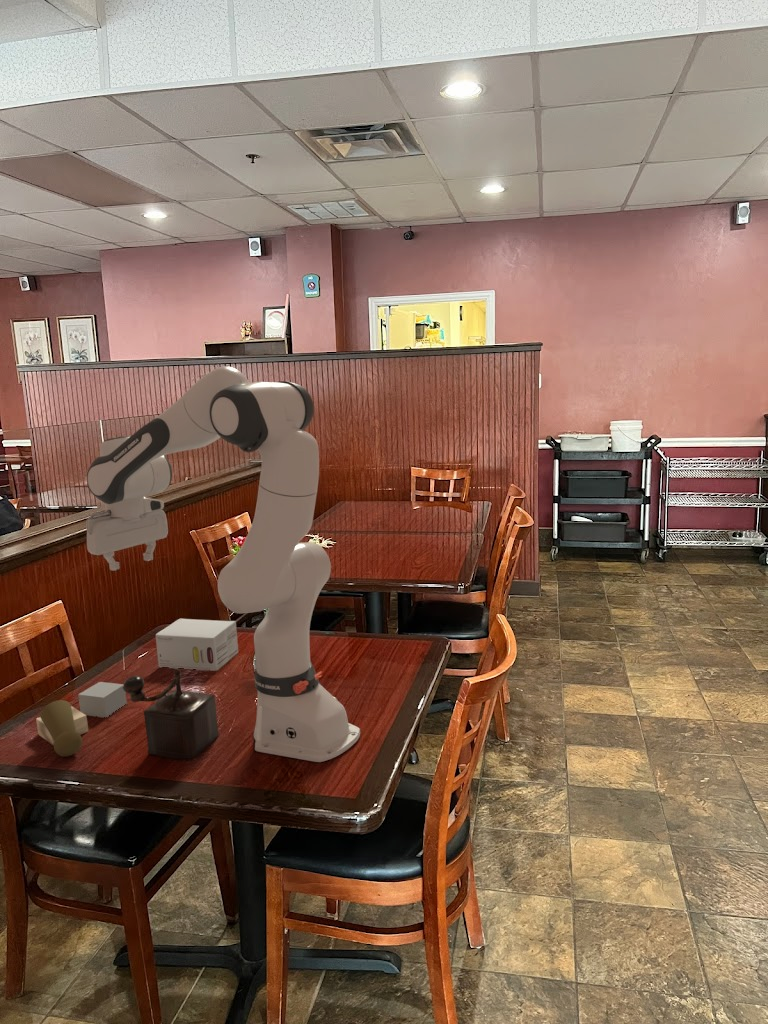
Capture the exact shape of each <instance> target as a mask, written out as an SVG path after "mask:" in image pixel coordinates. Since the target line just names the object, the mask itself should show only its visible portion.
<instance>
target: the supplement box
mask: <svg viewBox="0 0 768 1024" xmlns="http://www.w3.org/2000/svg"><path fill="white" fill-rule="evenodd" d="M237 632H238V631H237V621H236V620H217V619H216V620H215V619H214V620H212V619H195V618H194V619H192V618H179V619H176V620H175V621H174V622H172V623H171V624H169V625H167V626H166V627H164V629H163V628H162V630H160V631H158V632H157V633H156V634H155V643H156V644H155V645H156V651H157V652H156V654H157V662H158V668H162V667H169V668H168V669H177V668H184V669H183V670H193V669H196V670H195V671H209V670H210V671H213V672H217V671H218V670H220V669H222V667H223V666H224V665H226V664H227V663H228V662H229V661H230V660H231V659H232V658H234V657H235V656H236V655H237V654H238V653H239V645H238V642H239V641H238V633H237Z"/></svg>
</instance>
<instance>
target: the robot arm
mask: <svg viewBox="0 0 768 1024" xmlns="http://www.w3.org/2000/svg"><path fill="white" fill-rule="evenodd" d="M314 410H315V407H314V401H313V398H312V396H311V394H310V393H309V391H308V390H307V389H306V388H305V387H303V385H300V384H297V383H295V382H290V381H284V380H283V381H274V382H273V381H255V382H254V381H252V382H250V381H249V379H248V378H247V376H246V375H245V374H243V372H241V371H240V370H239V369H236V368H235V367H231V366H228V365H227V366H226V365H224V366H219V367H216V368H214V369H212V370H211V371H209V372H207V373H206V374H205V375H203V376H201V378H200V379H198V380H197V381H196V382H195V383H194V384H193V385H191V387H190V388H188V390H187V391H185V393H184V394H182V396H181V397H180V398H179V399H177V400H176V401H175V402H174V403H173V404H172V405H171V406H169V407H168V408H167V409H165V410H164V411H163V412H162V413H160V414H159V415H157V416H156V417H155V418H153V419H152V420H150V421H149V422H148V423H146V424H145V425H143V426H142V427H140V428H139V429H138V430H136V431H135V432H134V433H133V434H132V435H124V436H123V435H122V436H117V437H110V438H108V439H105V440H104V441H102V442H101V443H100V449H99V456H98V457H96V458H95V459H93V461H92V463H90V465H89V468H88V469H87V473H86V485H87V488H88V489H89V491H90V493H91V495H93V496H94V497H95V498H96V499H98V500H100V501H101V502H102V503H104V511H100V512H95V513H91V514H90V515H89V517H88V518H87V519H86V521H85V524H86V525H85V526H86V550H87V551H88V553H90V555H94V556H102V555H103V558H104V559H105V560H106V561H107V563H108V566H109V570H110V571H112V572H113V571H117V570H120V568H121V567H120V561H116V560H115V558H114V557H115V552H117V551H120V550H125V549H128V548H132V547H136V546H139V545H143V544H145V546H146V550H145V552H143V553H142V556H143V561H146V562H149V561H153V560H154V552H155V548H156V547H157V542H156V541H159V540H161V539H165V538H167V536H168V534H169V526H168V519H167V515H166V512H165V511H164V508H165V504H164V501H163V500H161V499H156V498H150V497H147V496H151V495H156V494H161V493H162V492H164V491H166V490H168V489H169V487H170V485H171V483H172V480H173V469H172V465H171V462H170V460H169V458H168V457H166V456H167V455H171V454H175V453H179V452H185V451H190V450H197V449H201V448H204V447H207V446H209V445H211V444H212V443H214V442H215V441H218V440H219V439H220V438H221V439H222V440H224V441H225V442H227V443H229V444H232V445H235V446H237V447H238V448H240V450H242V451H243V452H244V453H248V454H249V453H250V454H251V453H253V452H255V451H257V452H258V453H259V455H260V459H261V468H260V476H259V482H258V483H259V484H258V491H257V498H256V506H255V510H254V517H253V519H252V520H253V521H252V523H251V526H250V529H249V531H248V533H247V535H246V537H245V539H244V541H243V543H242V544H241V547H240V548H239V550H238V551H237V553H236V555H234V557H233V558H232V559H231V560H230V561H229V562H228V563H227V564H226V565H225V566H224V567H223V568H222V569H221V570H220V572H219V575H218V577H217V578H218V579H217V591H218V595H219V599H220V600H221V602H222V604H223V605H224V606H225V607H226V608H227V609H228V610H230V611H231V612H233V613H235V614H249V613H257V612H262V611H265V610H267V611H266V614H265V616H264V618H263V619H262V620H261V621H260V623H259V625H258V626H257V628H256V629H255V632H254V634H253V644H254V656H255V669H254V680H253V681H254V684H255V686H254V687H255V689H256V690H257V701H256V702H257V704H256V721H255V727H254V732H253V739H254V741H255V742H254V750H255V751H256V752H258V753H264V754H270V755H275V756H280V757H281V756H282V757H286V758H291V759H292V758H293V759H298V760H304V761H309V762H314V763H322V762H325V761H328V760H332V759H334V758H336V757H338V756H340V755H341V754H343V753H344V752H346V751H348V750H349V749H350V748H351V747H352V746H354V744H356V743H357V742H358V740H359V739H360V736H361V729H360V728H359V727H358V726H356V725H354V724H352V723H349V720H348V719H349V718H348V715H347V711H346V708H345V706H344V705H343V704H342V703H341V702H340V701H339V700H338V699H337V697H335V696H333V695H332V694H331V693H330V692H329V691H328V690H326V688H325V687H324V686H323V685H321V683H320V680H319V679H321V678H322V677H323V675H321V674H322V673H323V671H319V672H316V669H315V667H314V665H313V663H312V662H311V650H310V649H311V648H310V645H311V644H310V628H311V621H312V616H313V611H314V609H315V605H316V602H317V599H318V597H319V595H320V593H321V590H322V589H323V587H324V586H325V584H327V582H328V581H329V579H330V577H331V572H332V570H331V569H332V565H331V560H330V557H329V555H328V553H327V551H326V550H325V549H324V548H323V547H322V546H321V545H320V544H318V543H316V542H300V541H301V540H303V539H304V537H306V536H307V534H308V533H309V532H310V530H311V528H312V525H313V521H314V516H315V515H314V514H315V507H316V501H317V494H318V486H319V478H320V477H319V476H320V451H319V444H318V441H317V440H316V438H315V437H314V436H313V435H312V434H311V433H309V432H308V431H305V429H306V428H307V427H308V426H310V424H311V422H312V420H313V417H314V412H315V411H314Z"/></svg>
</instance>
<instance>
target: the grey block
mask: <svg viewBox="0 0 768 1024" xmlns="http://www.w3.org/2000/svg"><path fill="white" fill-rule="evenodd" d="M123 686H124V683H123V684H121V683H115V682H114V683H113V682H104V681H98V682H97V683H95V684H93V685H92V686H90V687H88V688H87V689H85V690H83V691H82V692H80V693H78V695H77V696H78V697H77V698H78V702H79V703H78V705H79V709H80V710H79V711H80V712H82V713H83V714H85V715H86V716H91V717H96V716H97V718H104V717H105V718H106V717H107V718H108V717H110V716H112V715H113V714H114V713H116V712H117V711H119V710H120V709H121V707H122V706H123V707H125V706H126V705H128V704H127V703H128V701H127V695H126V693H127V692H125V691H124V690H123ZM125 704H126V705H125ZM124 705H125V706H124ZM123 707H122V708H123ZM119 708H120V709H119ZM118 709H119V710H118ZM116 710H117V711H116ZM115 711H116V712H115ZM113 712H114V713H113ZM112 713H113V714H112ZM109 715H110V716H109ZM105 718H104V719H105ZM107 718H106V719H107Z"/></svg>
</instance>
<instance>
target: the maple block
mask: <svg viewBox="0 0 768 1024" xmlns="http://www.w3.org/2000/svg"><path fill="white" fill-rule="evenodd" d="M71 708H72V714H73V719H74V724H75V729H76V732H78V733H79V734H80V736H81V735H83V734H86V733H87V732H89V725H88V724H89V723H88V718H87V716H88V715H85V714H83V713H82V712H80V710H79V709H77V708H76V707H74V706H72V705H71ZM35 720H36V728H37V734H38V736H40V737H41V738H42V739H44V740H45V741H47V742H48V743H49V744H51V745H52V746H54V742H55V741H54V739H53V738H52V736H51V734H50V733H49V731H48V729H47V728H46V726H45V724H44V723H43V721H42V719H41V718H40V716H39V717H37V718H36V719H35Z"/></svg>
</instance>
